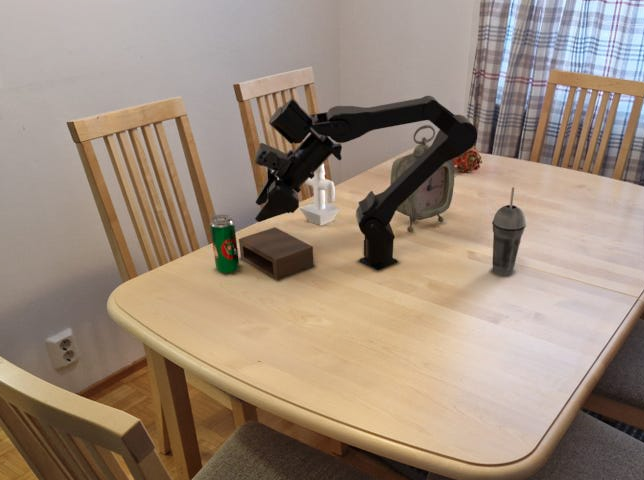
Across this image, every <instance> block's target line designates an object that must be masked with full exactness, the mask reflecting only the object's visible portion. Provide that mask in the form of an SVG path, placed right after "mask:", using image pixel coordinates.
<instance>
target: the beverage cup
mask: <svg viewBox="0 0 644 480" xmlns="http://www.w3.org/2000/svg"><path fill="white" fill-rule="evenodd" d="M514 194H515V187H511V193H510V202H509V204H506V205H503V206H502V207H500V208H499V209H498V210H497V211H496V212H495V214H494V216H493V219H492V222H491V223H492V233H493V234H492V237H493V238H492V264H491V265H492V273H493V274H495V275H497V276H500V277H508V276H511V275H513V271H514V268H515V266H516V265H515V264H516V261H517V256H518V252H519V249H520V244H521V240H522V236H523V235H524V232H525V228H526V225H527V224H526V216H525V213H524V211H523V210H522V209H521V208H520V207H518V206H517V205H515V204H513V203H514Z"/></svg>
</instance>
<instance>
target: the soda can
mask: <svg viewBox="0 0 644 480" xmlns="http://www.w3.org/2000/svg"><path fill="white" fill-rule="evenodd" d="M235 226H236V225H235V221H234V220H233V217H232V216H231V215H229V214H215V215H214V216H211V218H210V222H209V228H210V237H211V242H212V251H213V257H214V263H215V264H214V265H215V269H216V270H217V272H219V273H220V274H227V275H228V274H233V273H235V272H237V271H238V270H239V269H240V259H239V252H238V242H237V235H236V227H235Z"/></svg>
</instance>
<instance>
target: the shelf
mask: <svg viewBox="0 0 644 480" xmlns="http://www.w3.org/2000/svg"><path fill="white" fill-rule="evenodd" d="M238 244H239V245H238V246H239V252H240V254H239V255H240V260H242V261H244V262H245V263H247V264H248V265H250V266H253V267H254V268H255V269H257V270H259V271H261V272H262V273H264V274H266V275H267V276H269V277H270V278H272V279H274V280H276V281H281V280H282V279H285V278H289V277H291V276H294V275H296V274H299V273H301V272H304V271H306V270H309V269H311V268H314V267H315V263H314V246H313V245H311V244H309V243H307V242H305V241H303V240H301V239H299V238H297V237H296V236H293V235H291V234H289V233H287V232H285V231H283V230H282V229H280V228H278V227H276V226H274V227H271V228H268V229H265V230H262V231H259V232H256V233H252V234H249V235H247V236H243V237H240V238H238Z"/></svg>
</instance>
